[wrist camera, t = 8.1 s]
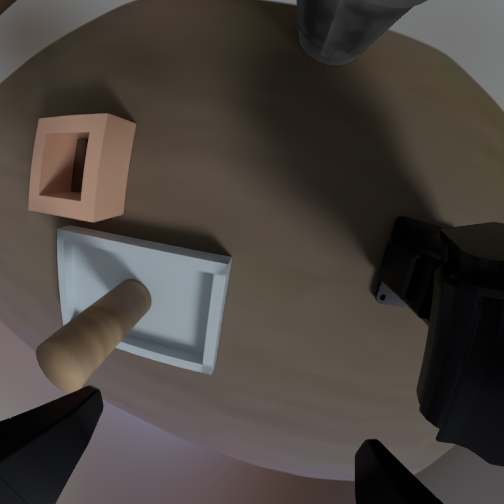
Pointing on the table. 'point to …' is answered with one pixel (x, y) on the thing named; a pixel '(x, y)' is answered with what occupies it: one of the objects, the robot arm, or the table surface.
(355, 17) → the beverage cup
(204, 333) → the tray
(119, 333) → the dowel
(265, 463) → the table surface
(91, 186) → the holder
